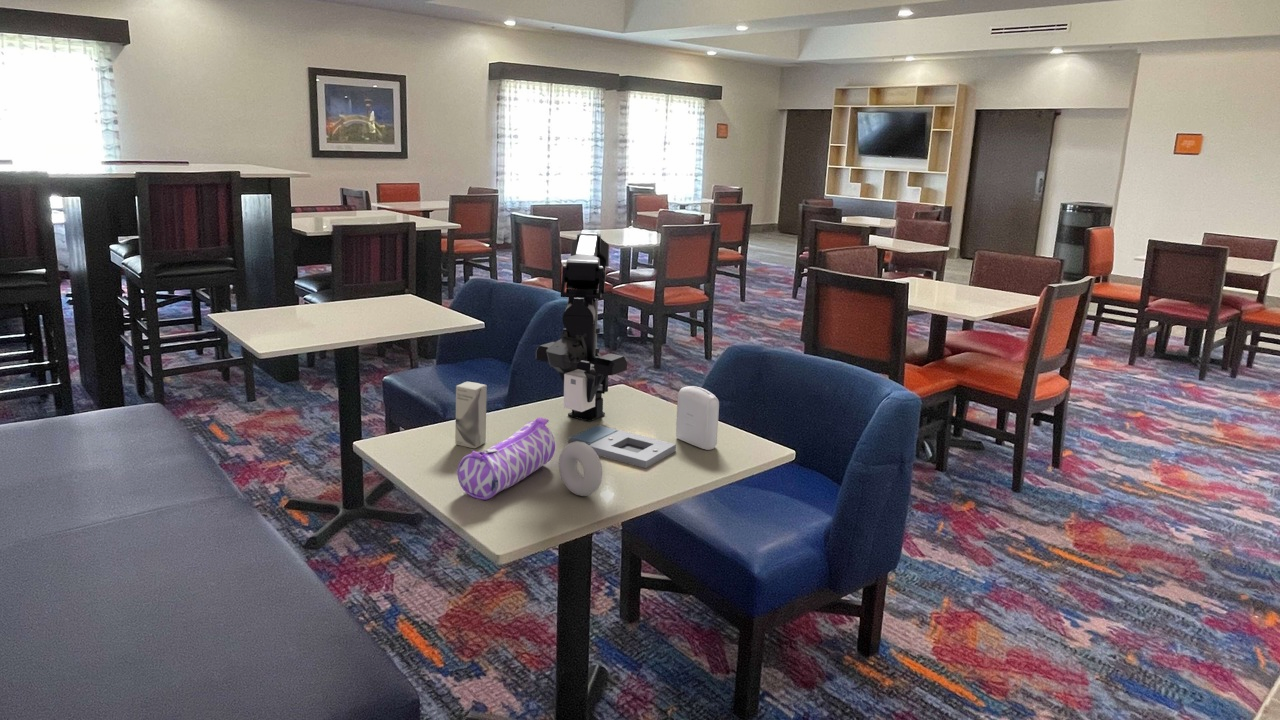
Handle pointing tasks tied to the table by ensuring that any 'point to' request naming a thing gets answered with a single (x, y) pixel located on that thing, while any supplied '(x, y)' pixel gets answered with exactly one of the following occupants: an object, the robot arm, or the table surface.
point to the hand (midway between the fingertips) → (579, 399)
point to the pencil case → (507, 461)
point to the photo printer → (697, 417)
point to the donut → (590, 467)
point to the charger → (576, 391)
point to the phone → (592, 434)
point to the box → (470, 414)
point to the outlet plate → (633, 448)
